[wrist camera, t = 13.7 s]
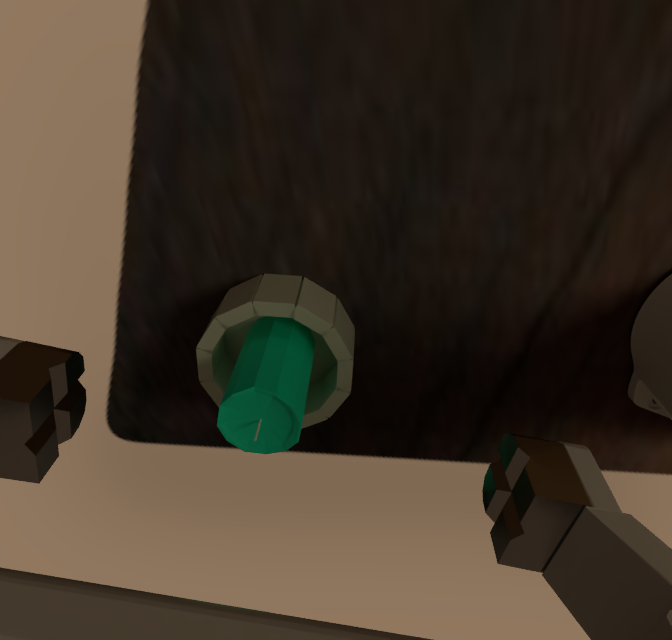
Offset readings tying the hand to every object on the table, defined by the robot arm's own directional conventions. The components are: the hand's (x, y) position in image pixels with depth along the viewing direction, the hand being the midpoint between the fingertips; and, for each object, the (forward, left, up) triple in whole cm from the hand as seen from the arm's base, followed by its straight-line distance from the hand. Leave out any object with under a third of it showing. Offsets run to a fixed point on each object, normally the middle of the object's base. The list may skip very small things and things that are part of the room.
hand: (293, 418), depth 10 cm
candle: (-5, +18, -30) cm, 36 cm away
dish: (-5, +18, -31) cm, 36 cm away
